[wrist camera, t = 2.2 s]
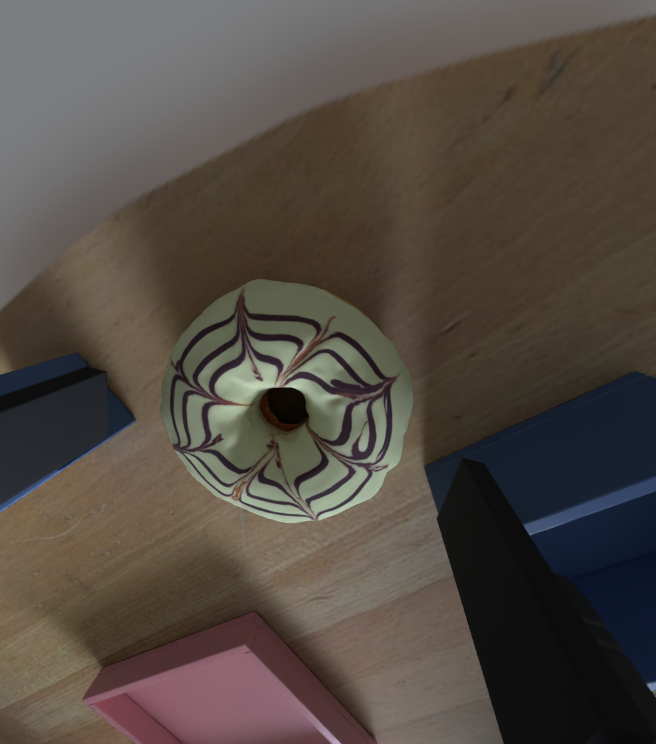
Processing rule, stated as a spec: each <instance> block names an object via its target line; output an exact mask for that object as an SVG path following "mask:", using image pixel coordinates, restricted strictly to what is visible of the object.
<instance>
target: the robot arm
mask: <svg viewBox="0 0 656 744" xmlns="http://www.w3.org/2000/svg"><path fill="white" fill-rule="evenodd" d="M108 436H109V433H108V403H107V373H106V371H103V370H99V369H94V368H90V367H84V368H81V369H78V370H75V371H72V372H69V373H66V374H63V375H60V376H58V377H55V378H52V379H49V380H46V381H43V382H40V383H37V384H34V385H31V386H28V387H25V388H22V389H19V390H16V391H13V392H10V393H7V394H4V395H1V396H0V505H1V504H3V503H5V502H6V501H8V500H9V499H11V498H12V497H14V496H16V495H17V494H19V493H20V492H22V491H23V490H25V489H26V488H28V487H30V486H31V485H33V484H34V483H36V482H37V481H39V480H41V479H42V478H44V477H45V476H47V475H48V474H50V473H51V472H53V471H55V470H56V469H58V468H59V467H61V466H62V465H64V464H66V463H67V462H69V461H70V460H72V459H73V458H75V457H77V456H78V455H80V454H81V453H83V452H84V451H86V450H87V449H89V448H91V447H92V446H94V445H95V444H97V443H98V442H100V441H102V440H103V439H105V438H106V437H108ZM437 521H438V524H439V528H440V531H441V534H442V538H443V541H444V544H445V548H446V551H447V555H448V558H449V561H450V565H451V568H452V571H453V575H454V578H455V581H456V585H457V588H458V592H459V595H460V598H461V602H462V605H463V608H464V612H465V615H466V618H467V622H468V625H469V629H470V632H471V635H472V639H473V642H474V645H475V649H476V652H477V655H478V659H479V662H480V666H481V669H482V672H483V676H484V679H485V682H486V686H487V689H488V692H489V696H490V699H491V703H492V706H493V709H494V713H495V716H496V719H497V723H498V726H499V729H500V733H501V736H502V740H503V743H504V744H656V697H655V696H654V694H653V693H652V691H651V690H650V688H649V687H648V685H647V684H646V683H645V681H644V680H643V678H642V677H641V675H640V674H639V672H638V671H637V669H636V668H635V667H634V665H633V664H632V662H631V661H630V659H629V658H628V656H627V655H626V654H625V653H622V651H621V646H620V645H619V643H618V642H617V640H616V639H615V637H614V636H613V635H612V633H611V632H610V630H607V629H606V624H605V623H604V621H603V620H602V619H601V617H600V616H599V614H598V613H597V611H596V610H595V608H594V607H593V605H592V604H591V603H590V601H589V600H588V599H587V598H586V597H585V596H584V595H583V594H582V592H581V591H580V590H579V589H578V588H577V587H576V586H575V585H574V584H573V583H572V582H571V581H570V580H569V579H568V578H567V577H566V576H562V575H558V574H554V573H553V571H552V570H551V568H550V567H549V565H548V564H547V562H546V560H545V559H544V557H543V556H542V554H541V553H540V551H539V549H538V548H537V546H536V545H535V543H534V541H533V540H532V538H531V537H530V535H529V534H528V532H527V530H526V529H525V527H524V526H523V524H522V522H521V521H520V519H519V518H518V516H517V515H516V513H515V511H514V510H513V508H512V507H511V505H510V503H509V502H508V500H507V499H506V497H505V496H504V494H503V492H502V491H501V489H500V488H499V486H498V484H497V483H496V481H495V480H494V478H493V477H492V475H491V473H490V472H489V470H488V469H487V467H486V465H485V464H484V463H482V462H478V461H474V460H470V459H466V458H462V459H461V461H460V464H459V466H458V469H457V471H456V473H455V476H454V478H453V481H452V483H451V485H450V488H449V490H448V493H447V495H446V497H445V500H444V502H443V505H442V507H441V509H440V512H439V514H438V517H437Z"/></svg>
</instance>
